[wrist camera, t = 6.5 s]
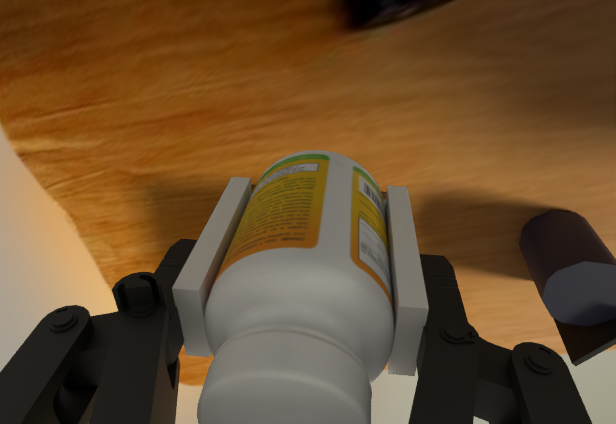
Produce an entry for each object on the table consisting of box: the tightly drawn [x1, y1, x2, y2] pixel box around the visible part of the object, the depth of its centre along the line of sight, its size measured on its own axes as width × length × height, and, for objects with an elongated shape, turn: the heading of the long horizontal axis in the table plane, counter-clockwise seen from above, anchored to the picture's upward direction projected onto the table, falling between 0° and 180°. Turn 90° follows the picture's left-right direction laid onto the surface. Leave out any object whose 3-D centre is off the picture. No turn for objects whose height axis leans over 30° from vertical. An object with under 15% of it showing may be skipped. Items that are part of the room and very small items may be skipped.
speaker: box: [519, 210, 616, 366], centre depth 34 cm, size 8×6×10 cm
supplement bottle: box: [197, 150, 394, 424], centre depth 14 cm, size 5×5×10 cm
